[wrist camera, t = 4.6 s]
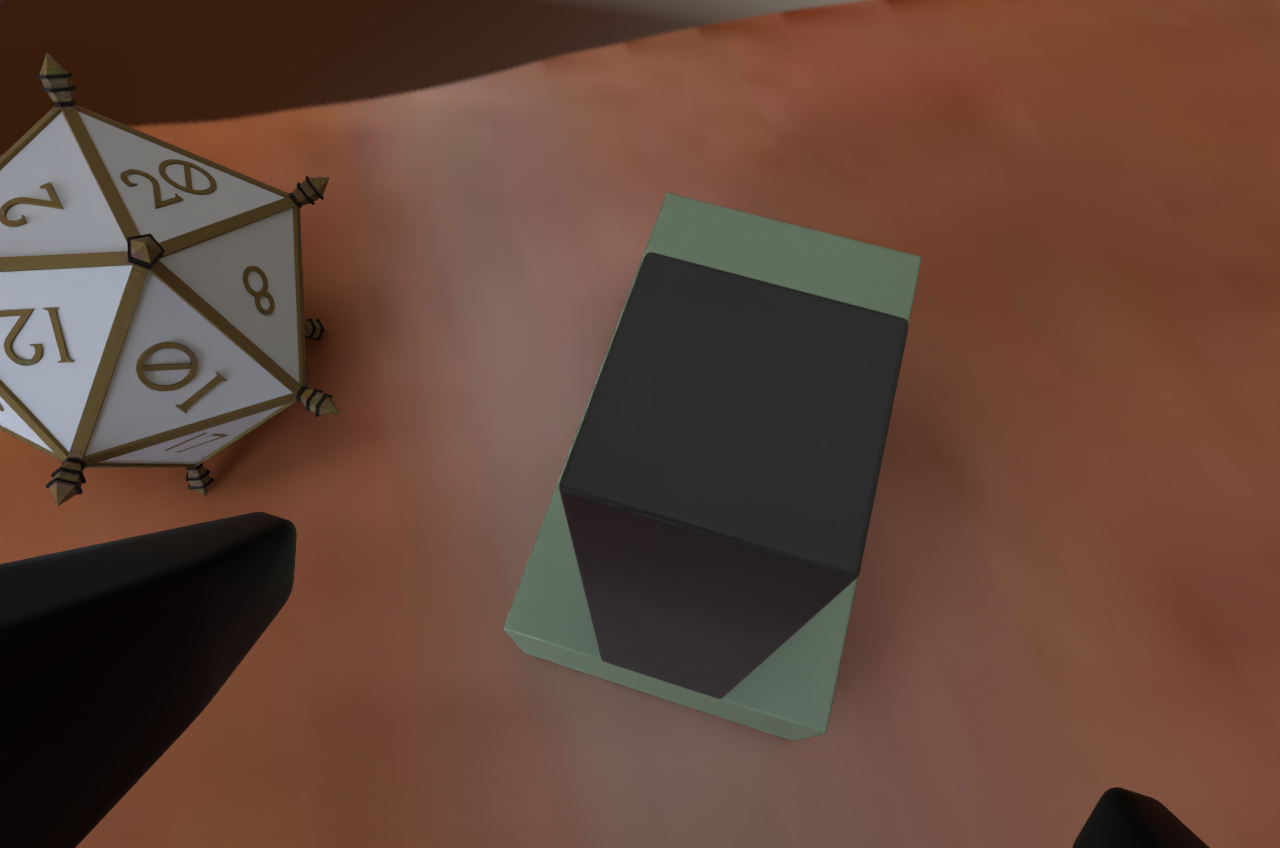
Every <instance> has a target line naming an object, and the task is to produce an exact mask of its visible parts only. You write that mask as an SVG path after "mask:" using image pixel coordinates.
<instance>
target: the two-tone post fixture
mask: <svg viewBox="0 0 1280 848" xmlns="http://www.w3.org/2000/svg"><path fill="white" fill-rule="evenodd" d="M920 263H921V257H920V256H916V255H912V254H908V253H904V252H900V251H896V250H892V249H888V248H884V247H880V246H876V245H872V244H868V243H864V242H860V241H856V240H852V239H848V238H844V237H841V236H837V235H833V234H829V233H825V232H821V231H817V230H813V229H809V228H805V227H801V226H797V225H793V224H789V223H785V222H781V221H777V220H773V219H769V218H765V217H761V216H757V215H754V214H750V213H746V212H742V211H738V210H734V209H730V208H726V207H722V206H718V205H714V204H710V203H706V202H702V201H698V200H694V199H690V198H686V197H682V196H678V195H674V194H671V193H667V194H666V195H665V198H664V201H663V203H662V206H661V209H660V211H659V214H658V217H657V219H656V222H655V225H654V227H653V230H652V233H651V235H650V238H649V241H648V243H647V246H646V249H645V251H644V254H643V257H642V259H641V262H640V265H639V267H638V270H637V273H636V275H635V278H634V281H633V283H632V286H631V289H630V291H629V294H628V297H627V299H626V302H625V305H624V307H623V310H622V312H621V315H620V318H619V320H618V323H617V326H616V328H615V331H614V334H613V336H612V339H611V342H610V344H609V347H608V350H607V352H606V355H605V358H604V360H603V363H602V366H601V368H600V371H599V374H598V376H597V379H596V382H595V384H594V387H593V390H592V392H591V395H590V398H589V400H588V403H587V406H586V408H585V411H584V414H583V416H582V419H581V422H580V424H579V427H578V430H577V432H576V435H575V437H574V440H573V443H572V445H571V448H570V451H569V453H568V456H567V459H566V461H565V464H564V467H563V469H562V472H561V475H560V477H559V480H558V483H557V485H556V488H555V491H554V493H553V496H552V499H551V501H550V504H549V507H548V509H547V512H546V515H545V517H544V520H543V523H542V525H541V528H540V531H539V533H538V536H537V539H536V541H535V544H534V547H533V549H532V552H531V555H530V557H529V560H528V562H527V565H526V568H525V570H524V573H523V576H522V578H521V581H520V584H519V586H518V589H517V592H516V594H515V597H514V600H513V602H512V605H511V608H510V610H509V613H508V616H507V618H506V621H505V624H504V626H503V629H504V630H505V631H506V633H507V634H508V635H509V636H510V637H511V638H512V640H513V641H514V642H515V643H516V644H517V646H518V647H519V648H520V649H521V650H522V651H523V653H525V654H528V655H531V656H534V657H537V658H540V659H543V660H546V661H549V662H552V663H555V664H558V665H561V666H564V667H568V668H571V669H574V670H577V671H580V672H583V673H586V674H589V675H592V676H595V677H598V678H601V679H604V680H607V681H610V682H613V683H616V684H619V685H622V686H625V687H628V688H632V689H635V690H638V691H641V692H644V693H647V694H650V695H653V696H656V697H659V698H662V699H665V700H668V701H671V702H674V703H677V704H680V705H683V706H686V707H689V708H693V709H696V710H699V711H702V712H705V713H708V714H711V715H714V716H717V717H720V718H723V719H726V720H729V721H732V722H735V723H738V724H741V725H744V726H747V727H750V728H753V729H757V730H760V731H763V732H766V733H769V734H772V735H775V736H778V737H781V738H784V739H787V740H790V741H797V740H801V739H805V738H809V737H814V736H818V735H822V734H826V732H827V728H828V723H829V718H830V713H831V708H832V703H833V698H834V693H835V688H836V683H837V678H838V673H839V668H840V663H841V658H842V653H843V648H844V643H845V638H846V633H847V628H848V623H849V618H850V613H851V608H852V603H853V598H854V593H855V588H856V583H857V578H858V575H859V573H860V568H861V563H862V558H863V553H864V548H865V543H866V538H867V533H868V528H869V523H870V518H871V513H872V508H873V503H874V498H875V493H876V488H877V483H878V478H879V473H880V468H881V463H882V458H883V453H884V448H885V443H886V438H887V432H888V427H889V422H890V417H891V412H892V407H893V402H894V397H895V392H896V387H897V382H898V377H899V372H900V367H901V362H902V357H903V352H904V347H905V342H906V337H907V332H908V323H909V318H910V313H911V308H912V303H913V298H914V293H915V288H916V283H917V278H918V273H919V268H920Z"/></svg>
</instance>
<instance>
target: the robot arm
mask: <svg viewBox="0 0 1280 848" xmlns="http://www.w3.org/2000/svg"><path fill="white" fill-rule="evenodd" d="M296 537H297V536H296V528H295V526H294V524H293V523H292V522H291V521H289V520H286V519H283V518H280V517H277V516H273V515H270V514H267V513H264V512H254V513H249V514H244V515H239V516H234V517H229V518H225V519H220V520H215V521H210V522H205V523H200V524H195V525H190V526H185V527H180V528H176V529H171V530H166V531H161V532H156V533H151V534H146V535H141V536H136V537H131V538H126V539H122V540H117V541H112V542H107V543H102V544H97V545H92V546H87V547H82V548H77V549H72V550H68V551H63V552H58V553H53V554H48V555H43V556H38V557H33V558H28V559H23V560H19V561H14V562H9V563H4V564H0V848H76V847H77V845H78V844H79V843H80V842H81V841H82V840H83V839H84V838H85V837H86V836H87V835H88V834H89V833H90V832H91V830H92V829H93V828H94V827H95V826H96V825H97V824H98V823H99V822H100V821H101V820H102V819H103V818H104V817H105V816H106V814H107V813H108V812H109V811H110V810H111V809H112V808H113V807H114V806H115V805H116V804H117V803H118V802H119V801H120V799H121V798H122V797H123V796H124V795H125V794H126V793H127V792H128V791H129V790H130V789H131V788H132V787H133V786H134V785H135V783H136V782H137V781H138V780H139V779H140V778H141V777H142V776H143V775H144V774H145V773H146V772H147V771H148V770H149V768H150V767H151V766H152V765H153V764H154V763H155V762H156V761H157V760H158V759H159V758H160V757H161V756H162V755H163V754H164V752H165V751H166V750H167V749H168V748H169V747H170V746H171V745H172V744H173V743H174V742H175V741H176V740H177V739H178V737H179V736H180V735H181V734H182V733H183V732H184V731H185V730H186V729H187V728H188V727H189V726H190V724H191V723H192V722H193V721H194V720H195V719H196V718H197V717H198V715H199V714H200V713H201V712H202V711H203V710H204V709H205V707H206V706H207V705H208V704H209V702H210V701H211V700H212V699H213V697H214V696H215V695H216V694H217V692H218V691H219V690H220V689H221V687H222V686H223V685H224V683H225V682H226V681H227V679H228V678H229V677H230V675H231V674H232V673H233V671H234V670H235V669H236V668H237V666H238V665H239V664H240V662H241V661H242V660H243V658H244V657H245V656H246V654H247V653H248V652H249V651H250V649H251V648H252V647H253V645H254V644H255V643H256V641H257V640H258V639H259V637H260V636H261V635H262V633H263V632H264V631H265V630H266V628H267V627H268V626H269V624H270V623H271V622H272V620H273V619H274V618H275V616H276V615H277V614H278V613H279V611H280V610H281V609H282V607H283V606H284V604H285V603H286V601H287V599H288V598H289V596H290V593H291V591H292V587H293V582H294V568H295V553H296ZM1073 848H1209V847H1208V846H1207V845H1206V844H1205V843H1204V842H1203V841H1201V840H1200V839H1199V838H1198V837H1197V836H1196V835H1195V834H1194V833H1193V832H1192V831H1191V830H1190V829H1189V828H1187V827H1186V826H1185V825H1184V824H1183V823H1182V822H1181V821H1180V820H1179V819H1178V818H1177V817H1176V816H1175V815H1173V814H1172V813H1171V812H1170V811H1169V810H1168V809H1167V808H1166V807H1165V806H1164V805H1163V804H1161V803H1160V802H1159V801H1157V800H1155V799H1153V798H1151V797H1148V796H1145V795H1142V794H1139V793H1135V792H1132V791H1129V790H1126V789H1123V788H1120V787H1115V788H1110V789H1108V790H1107V791H1106V792H1105V793H1104V794H1103V795H1102V797H1101V798H1100V800H1099V801H1098V803H1097V805H1096V806H1095V808H1094V810H1093V812H1092V813H1091V815H1090V817H1089V818H1088V820H1087V822H1086V823H1085V825H1084V827H1083V828H1082V830H1081V832H1080V833H1079V835H1078V837H1077V838H1076V840H1075V843H1074V845H1073Z"/></svg>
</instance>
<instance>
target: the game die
mask: <svg viewBox="0 0 1280 848" xmlns="http://www.w3.org/2000/svg"><path fill="white" fill-rule="evenodd" d="M70 76H72V74H71V73H68V72H67V71H66V70H65V69H63V68H62V67H61V66H60V65H59V64H58V63H57V62H56V61H55V60H54V59H53V58H52V57H51V56H50V55H49V54H48V53H46V56H45V60H44V63H43V66H42V69H41V72H40V75H37V78H38V79H41V80H42V83H43V85H44V87H45V88H44V89H42V90H43V92H47V93H48V95H49V96H50V97H51V99H52V100H53V101H54V107H53V108H52V109H51V110H50V111H49V112H48V113H47V114H46V115H45V116H44V117H43V118H42V119H40V120H39V121H38V122H37V123H36V124H35V125H34V126H33V127H32V128H31V129H30V130H29V131H28V132H27V133H26V134H25V135H24V136H22V137H21V138H20V139H19V140H18V141H17V142H16V143H15V144H14V145H13V146H12V147H11V148H10V149H9V150H8V151H7V152H6V153H4V154H3V155H2V156H1V157H0V430H1V431H3V432H5V433H7V434H9V435H11V436H13V437H15V438H17V439H19V440H21V441H23V442H25V443H27V444H29V445H31V446H33V447H35V448H37V449H38V450H40V451H42V452H44V453H46V454H48V455H50V456H52V457H54V458H56V459H58V460H60V461H62V462H63V464H62V467H60V468H59V469H57V470H56V471H55V472H53V473H52V475H51V476H52V477H53V479H52V481H50V482H49V483H48V484H47V485H46V487H47V488H49V489H50V490H51V493H52V495H53V497H54V500H55V502H56V504H57V506H59V505H60V504H62V503H64V502H65V501H67V500H68V499H70V498H72V497H73V496H75V495H77V494H82V492H83V491H82V489H81V485H82V483H85V482H86V480H85V477H84V475H83V470H84V468H186V469H187V470H188V472H187V477H186V480H187V481H189V489H193V490H195V491H197V492H199V493H200V494H202V495H204V496H206V494H207V491H208V489H209V486H210V484H211V483H212V482H213V481H214V479H213V478H210V476H209V474H210V473H211V472H210V471H209V470H207V469H205V468H204V466H203V462H204V461H206V460H207V459H209V458H210V457H212V456H213V455H215V454H217V453H218V452H220V451H221V450H223V449H224V448H226V447H227V446H229V445H230V444H232V443H233V442H235V441H237V440H238V439H240V438H241V437H243V436H244V435H246V434H247V433H249V432H250V431H252V430H253V429H255V428H257V427H258V426H260V425H261V424H263V423H264V422H266V421H267V420H269V419H270V418H272V417H273V416H275V415H276V414H278V413H280V412H281V411H283V410H284V409H286V408H287V407H289V406H290V405H292V404H293V403H295V402H296V401H299V402H302V403H303V404H304V405H305V406H306V411H310V410H311V411H313V412H314V413H315V416H316V417H318V416H320V415H325V414H337V413H339V411H338V409H337V408H336V406H335V404H334V402H333V400H332V396H331V395H329V394H323V393H322V392H323V391H321V390H317V389H314V390H310V389H309V388H308V387H307V370H306V345H305V337H307V338H310V339H312V338H313V339H316V340H320V338H321V337H322V336H323V335H325V334H326V333H328V331H327V330H326V328H325V327H324V326H323V325H322V324H321V322H320V320H319V319H316V320H315V321H312V319H311V318H309V319H308V320H307V321H304V296H303V272H302V247H301V223H300V208H301V207H302V205H306V204H310V203H311V204H312V205H314V204H315V203H314V201H316V200H317V199H319V198H321V199H324V197H323V194H324V191H325V188H326V185H327V183H328V180H329V177H321V178H309V177H308V176H306V177H305V178H306V180H305V181H304V182H302V183H301V184H300V183H297V188H296V189H295V190H294V191H293V192H292V193H289V194H288V193H286V192H284V191H281V190H279V189H276V188H274V187H272V186H269V185H267V184H265V183H262V182H260V181H257V180H255V179H253V178H250V177H248V176H245V175H243V174H241V173H238V172H236V171H233V170H231V169H229V168H226V167H224V166H222V165H219V164H217V163H214V162H212V161H210V160H207V159H205V158H202V157H200V156H198V155H195V154H193V153H191V152H188V151H186V150H183V149H181V148H179V147H176V146H174V145H171V144H169V143H167V142H164V141H162V140H160V139H157V138H155V137H152V136H150V135H148V134H145V133H143V132H140V131H138V130H136V129H133V128H131V127H128V126H126V125H124V124H121V123H119V122H117V121H114V120H112V119H109V118H107V117H105V116H102V115H100V114H97V113H95V112H93V111H90V110H88V109H86V108H83V107H81V106H78V105H76V103H75V102H74V98H73V90H75V89H76V87H75V86H72V83H71V80H70Z"/></svg>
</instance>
